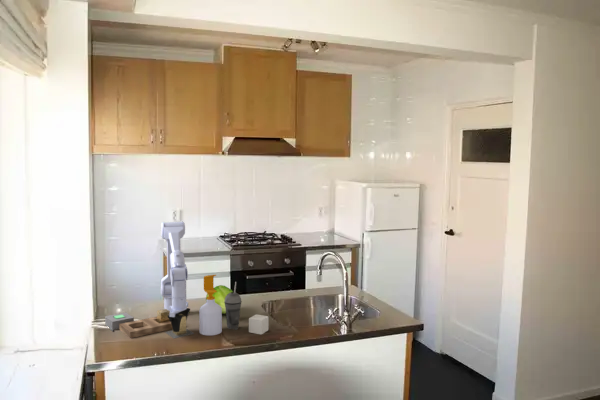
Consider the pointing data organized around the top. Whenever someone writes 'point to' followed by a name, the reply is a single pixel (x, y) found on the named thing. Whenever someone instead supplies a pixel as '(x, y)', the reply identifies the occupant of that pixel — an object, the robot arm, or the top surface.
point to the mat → (178, 335)
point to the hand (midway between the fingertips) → (179, 329)
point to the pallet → (144, 327)
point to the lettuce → (220, 296)
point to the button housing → (117, 320)
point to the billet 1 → (163, 316)
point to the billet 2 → (182, 326)
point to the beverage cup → (233, 309)
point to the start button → (119, 316)
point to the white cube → (258, 324)
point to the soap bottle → (210, 311)
